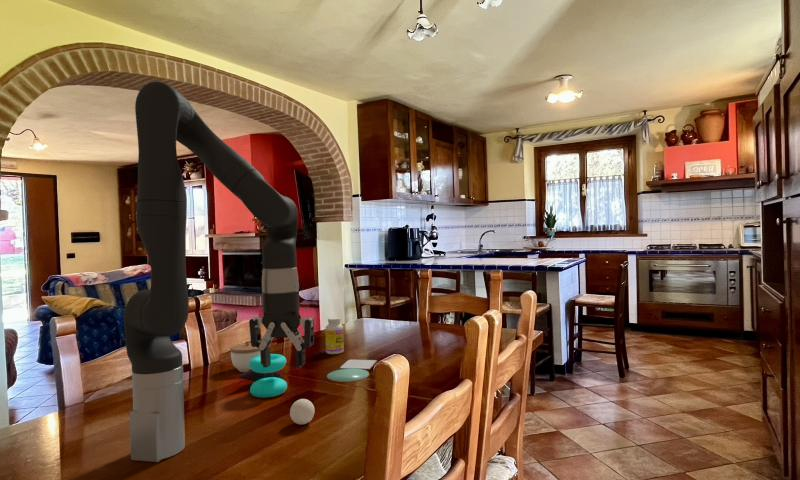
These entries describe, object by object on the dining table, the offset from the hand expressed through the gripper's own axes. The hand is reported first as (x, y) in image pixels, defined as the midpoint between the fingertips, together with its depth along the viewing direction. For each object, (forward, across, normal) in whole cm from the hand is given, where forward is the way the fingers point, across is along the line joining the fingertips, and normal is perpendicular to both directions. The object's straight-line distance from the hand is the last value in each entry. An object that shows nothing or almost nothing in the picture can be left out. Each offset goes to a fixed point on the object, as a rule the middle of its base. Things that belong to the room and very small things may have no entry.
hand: (283, 366), depth 98 cm
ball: (+13, 0, +9) cm, 16 cm away
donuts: (+16, -18, +28) cm, 37 cm away
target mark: (+16, 0, +46) cm, 49 cm away
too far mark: (+16, 0, +58) cm, 60 cm away
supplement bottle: (+17, -14, +73) cm, 76 cm away
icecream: (+16, -24, +36) cm, 46 cm away
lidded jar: (+16, -36, +49) cm, 63 cm away
